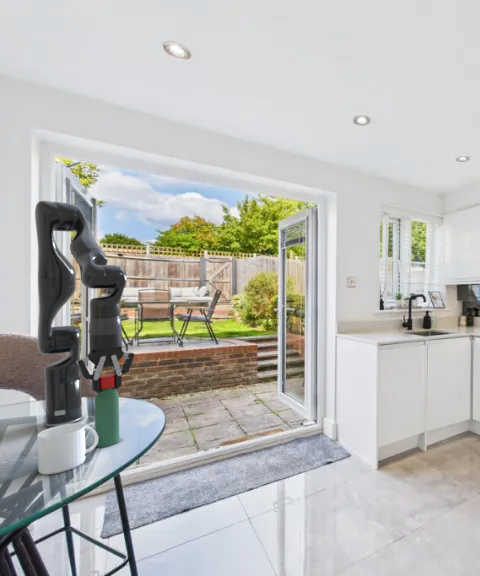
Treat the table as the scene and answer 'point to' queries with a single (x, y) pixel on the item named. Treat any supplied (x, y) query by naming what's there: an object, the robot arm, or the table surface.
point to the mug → (63, 447)
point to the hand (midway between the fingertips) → (107, 389)
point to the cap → (107, 381)
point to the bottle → (107, 417)
